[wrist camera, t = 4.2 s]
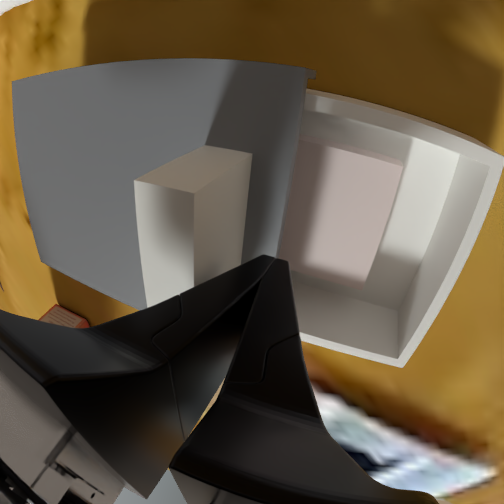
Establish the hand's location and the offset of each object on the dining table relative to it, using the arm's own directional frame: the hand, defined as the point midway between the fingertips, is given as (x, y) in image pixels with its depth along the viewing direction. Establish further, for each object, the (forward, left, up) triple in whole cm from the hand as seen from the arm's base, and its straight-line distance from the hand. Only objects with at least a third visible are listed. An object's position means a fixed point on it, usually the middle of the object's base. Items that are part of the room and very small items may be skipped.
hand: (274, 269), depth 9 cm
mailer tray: (+1, 0, -6) cm, 6 cm away
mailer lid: (+8, 0, -3) cm, 8 cm away
